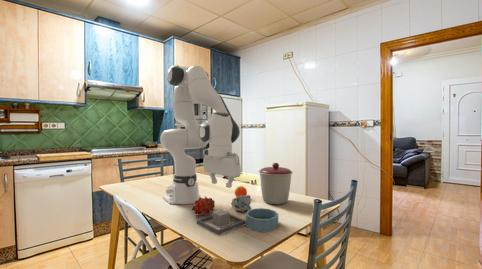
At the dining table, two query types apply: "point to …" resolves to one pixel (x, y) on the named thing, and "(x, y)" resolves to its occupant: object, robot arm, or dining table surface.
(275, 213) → the bowl
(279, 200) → the canister
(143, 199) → the dining table surface
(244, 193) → the clementine
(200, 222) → the tray
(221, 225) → the pebble block
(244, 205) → the mineral specimen
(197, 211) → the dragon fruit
